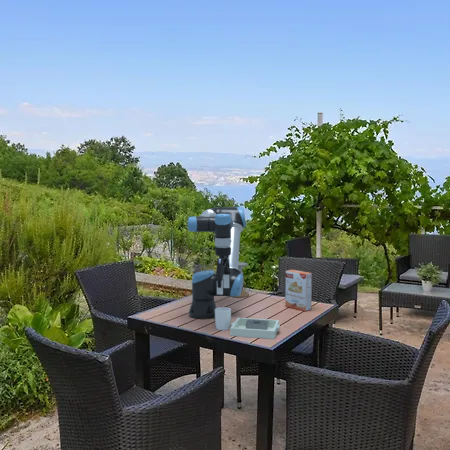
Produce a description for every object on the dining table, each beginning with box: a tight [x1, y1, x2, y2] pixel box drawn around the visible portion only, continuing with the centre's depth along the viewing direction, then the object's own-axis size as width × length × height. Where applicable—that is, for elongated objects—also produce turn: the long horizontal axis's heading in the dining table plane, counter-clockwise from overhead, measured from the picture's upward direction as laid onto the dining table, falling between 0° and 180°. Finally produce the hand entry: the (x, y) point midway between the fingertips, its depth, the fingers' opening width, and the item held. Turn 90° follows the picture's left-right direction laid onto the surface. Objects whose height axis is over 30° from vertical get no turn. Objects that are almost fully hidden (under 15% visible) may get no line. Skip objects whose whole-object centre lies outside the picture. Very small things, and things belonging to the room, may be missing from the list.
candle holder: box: [232, 261, 250, 299], centre depth 291 cm, size 12×12×20 cm
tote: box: [229, 317, 281, 340], centre depth 218 cm, size 22×17×4 cm
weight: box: [246, 320, 268, 330], centre depth 223 cm, size 10×4×4 cm, turn 77°
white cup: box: [214, 306, 232, 331], centre depth 224 cm, size 8×8×10 cm
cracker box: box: [284, 269, 313, 312], centre depth 260 cm, size 14×6×21 cm, turn 45°
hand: (223, 291), depth 223 cm, fingers open, 13 cm apart
